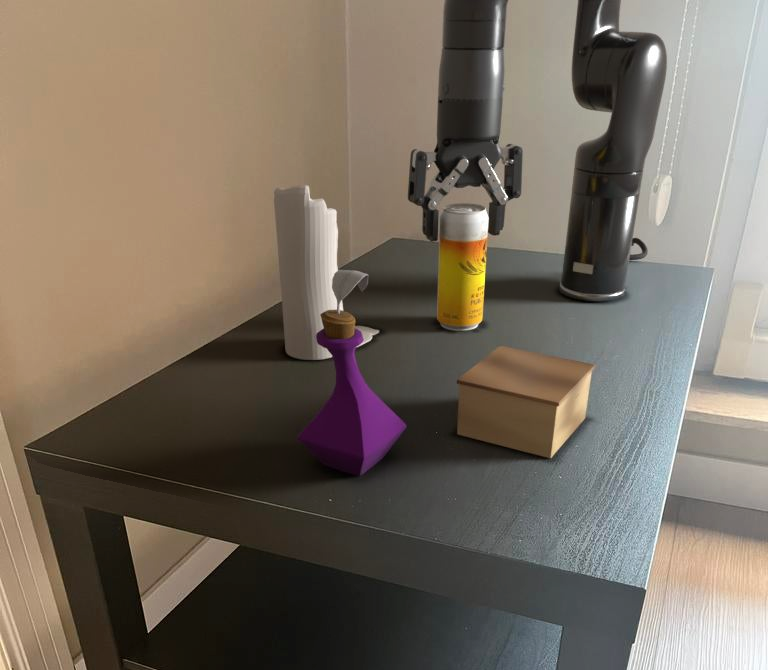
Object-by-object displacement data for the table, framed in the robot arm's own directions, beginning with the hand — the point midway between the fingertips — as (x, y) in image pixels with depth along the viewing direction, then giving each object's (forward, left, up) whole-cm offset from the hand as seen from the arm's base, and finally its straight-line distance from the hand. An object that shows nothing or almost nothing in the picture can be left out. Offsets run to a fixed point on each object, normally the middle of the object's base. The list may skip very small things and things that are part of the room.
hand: (462, 237), depth 101 cm
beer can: (0, 0, -12) cm, 12 cm away
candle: (+14, -11, -12) cm, 21 cm away
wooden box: (+24, +19, -12) cm, 33 cm away
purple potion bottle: (+39, +8, -12) cm, 41 cm away
